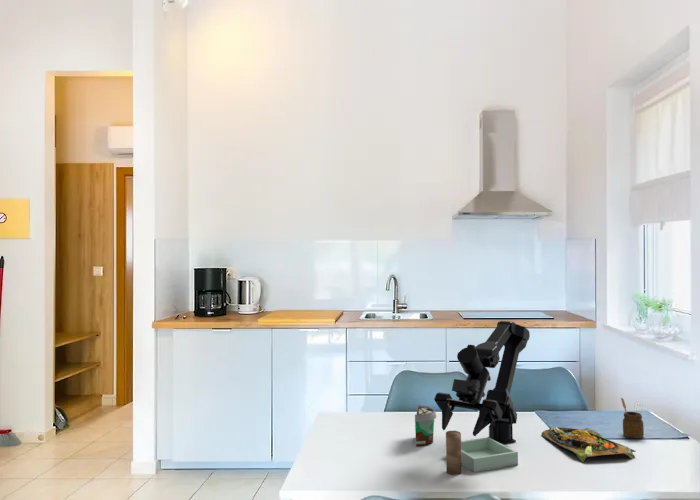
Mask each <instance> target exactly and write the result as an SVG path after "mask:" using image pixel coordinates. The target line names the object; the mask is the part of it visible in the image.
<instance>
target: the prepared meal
mask: <svg viewBox="0 0 700 500" xmlns="http://www.w3.org/2000/svg"><path fill="white" fill-rule="evenodd" d="M570 433H571V434H570ZM573 434H578V435H573ZM579 435H580V436H579ZM540 436H542V437H543V438H546V439H548V440H549V441H551V442H553V443H554V444H555V445H557V446H559V447H561V448H562V449H565V450H568V451H571V452H573V453H574V454H575V455H576V457H577V458H578V459H579V460H580V462H582V463H584V462H585V460H586V458H589V457H591V458H592V457H598V456H606V455H607V456H610V455H618V454H625V455H626V456H628V457H629V459H636V455H635V454H634V453H635V452H637V451H636V450H634V449H632V448H630V447H629V446H625V445H623V444H620V443H618V442H615V441H612V440H609V439H606V437H604V436H602V434H600V433H598V432H597V431H596V430H595V429H592V428H589V427H587V428H583V429H579V428H569V427H553V428H550V429H546V430H543V431H542V433H541V435H540Z"/></svg>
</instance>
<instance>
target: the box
mask: <svg viewBox="0 0 700 500" xmlns="http://www.w3.org/2000/svg"><path fill="white" fill-rule="evenodd" d="M518 453H519V452H518V451H517V450H514V449H512V448H510V447H508V446H507V445H505V444H501V443H499V442H497V441H495V440H493V439H491V438H489V436H487V437H481V438H475V439H469V440H468V439H467V440H461V460H462V466H464V467H466V468H467V469H469V470H470V471H471V472H473V473H478V472H482V471H484V472H485V471H489V470H496V469H501V468H506V467H513V466H519V456H518V455H519V454H518Z"/></svg>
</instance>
